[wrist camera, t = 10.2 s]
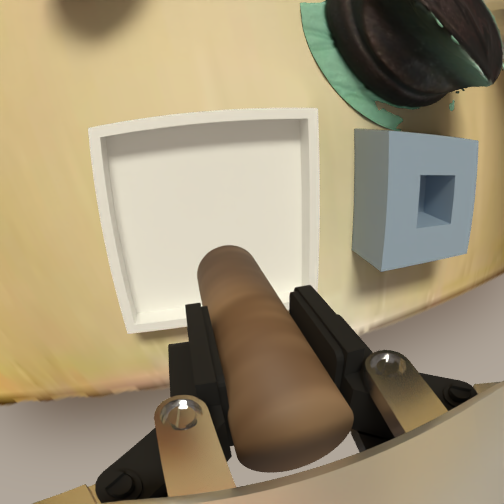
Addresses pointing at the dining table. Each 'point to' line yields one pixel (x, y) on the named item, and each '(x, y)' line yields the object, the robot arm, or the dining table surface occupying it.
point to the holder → (412, 197)
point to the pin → (268, 369)
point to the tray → (205, 203)
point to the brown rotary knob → (402, 50)
